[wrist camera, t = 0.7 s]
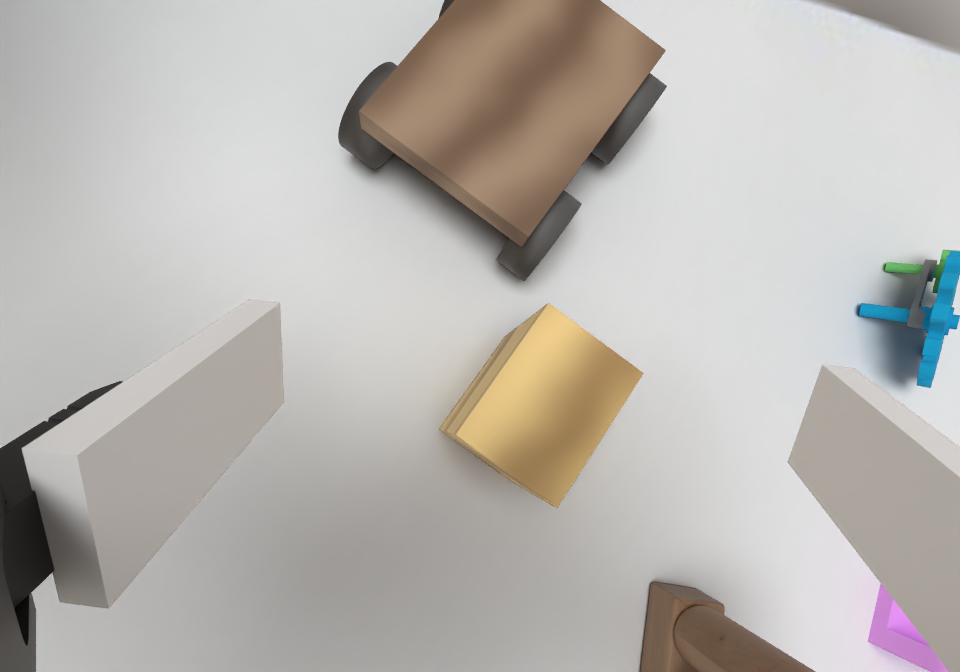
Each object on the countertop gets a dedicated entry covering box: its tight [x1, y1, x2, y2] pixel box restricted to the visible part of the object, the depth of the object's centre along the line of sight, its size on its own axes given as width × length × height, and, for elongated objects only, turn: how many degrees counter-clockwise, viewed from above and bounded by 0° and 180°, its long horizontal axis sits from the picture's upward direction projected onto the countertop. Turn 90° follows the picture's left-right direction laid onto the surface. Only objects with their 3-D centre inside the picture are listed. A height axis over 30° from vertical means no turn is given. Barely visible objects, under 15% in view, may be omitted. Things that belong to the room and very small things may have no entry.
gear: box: [859, 250, 960, 388], centre depth 42 cm, size 11×6×10 cm
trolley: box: [338, 0, 667, 281], centre depth 38 cm, size 15×17×8 cm
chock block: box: [439, 303, 643, 508], centre depth 33 cm, size 6×8×12 cm
